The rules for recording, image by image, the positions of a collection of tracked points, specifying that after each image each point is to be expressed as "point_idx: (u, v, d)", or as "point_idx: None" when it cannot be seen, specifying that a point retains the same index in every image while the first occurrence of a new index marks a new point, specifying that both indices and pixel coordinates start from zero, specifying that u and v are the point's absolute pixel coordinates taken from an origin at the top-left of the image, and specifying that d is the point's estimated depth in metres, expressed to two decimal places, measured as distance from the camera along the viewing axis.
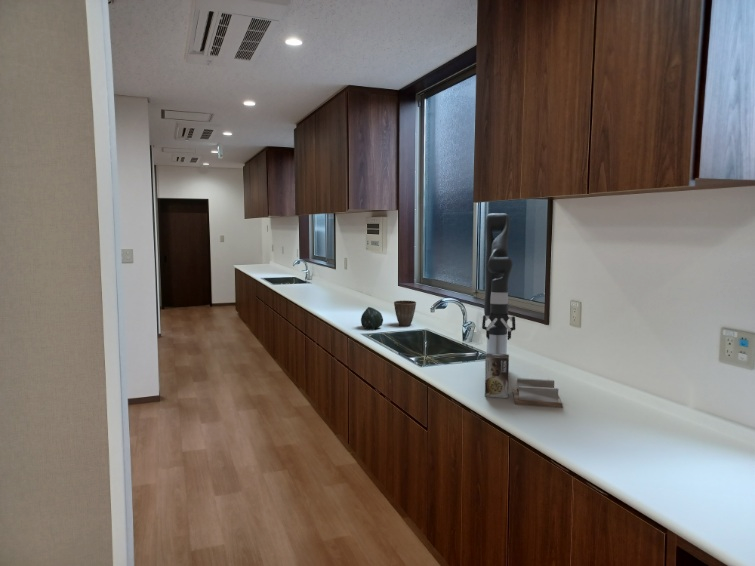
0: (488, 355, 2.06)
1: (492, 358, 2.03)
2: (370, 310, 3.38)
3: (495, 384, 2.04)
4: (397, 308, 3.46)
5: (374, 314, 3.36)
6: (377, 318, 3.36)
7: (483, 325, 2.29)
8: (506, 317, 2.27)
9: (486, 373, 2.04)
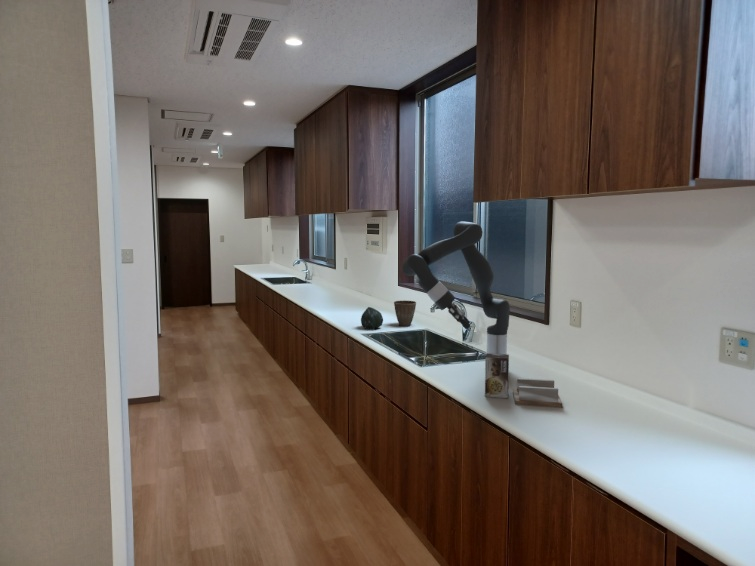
0: (488, 355, 2.06)
1: (492, 358, 2.03)
2: (370, 310, 3.38)
3: (495, 384, 2.04)
4: (397, 308, 3.46)
5: (374, 314, 3.36)
6: (377, 318, 3.36)
7: None
8: None
9: (486, 373, 2.04)
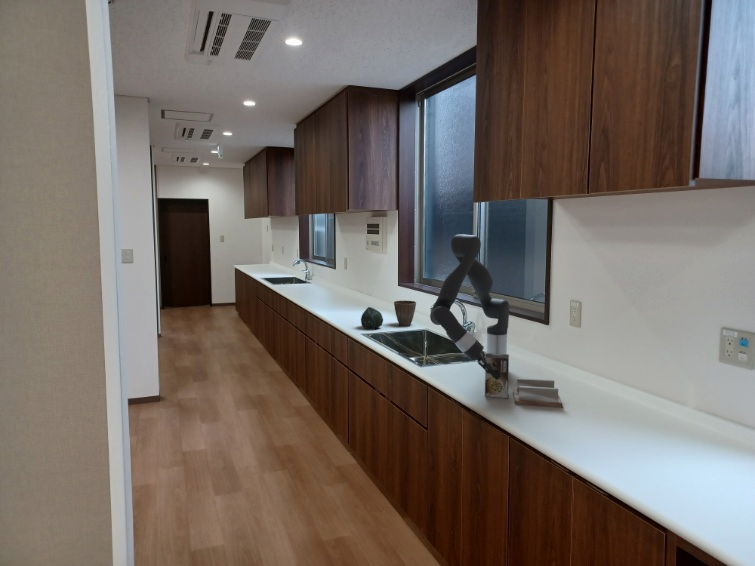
0: (488, 355, 2.06)
1: (492, 358, 2.03)
2: (370, 310, 3.38)
3: (495, 384, 2.04)
4: (397, 308, 3.46)
5: (374, 314, 3.36)
6: (377, 318, 3.36)
7: None
8: (478, 360, 2.04)
9: (486, 373, 2.04)
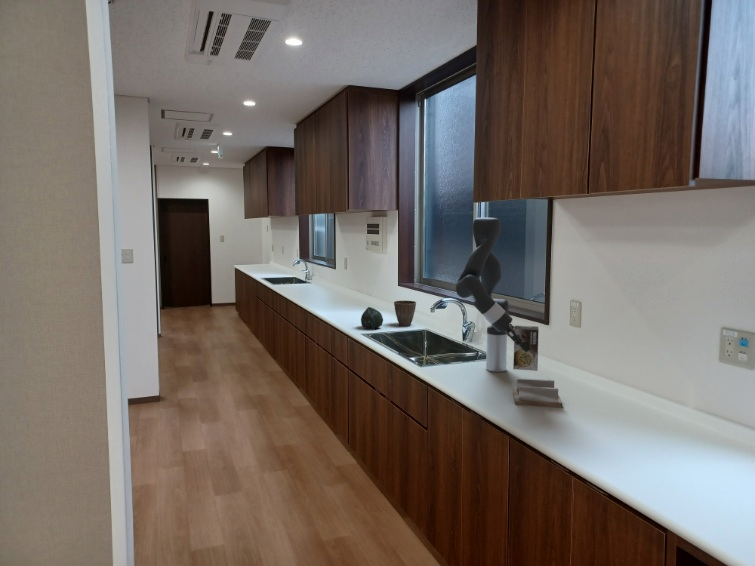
0: (517, 327, 2.00)
1: (521, 330, 1.97)
2: (370, 310, 3.38)
3: (524, 356, 1.98)
4: (397, 308, 3.46)
5: (374, 314, 3.36)
6: (377, 318, 3.36)
7: None
8: (507, 332, 1.98)
9: (515, 345, 1.99)
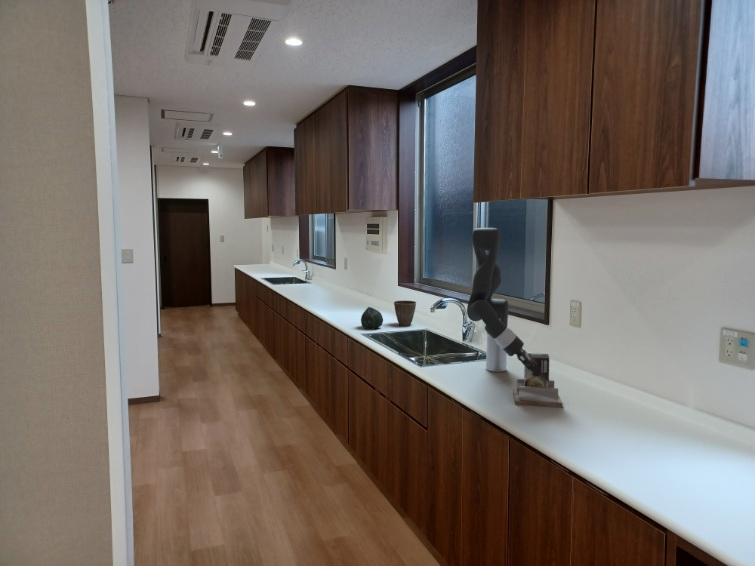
0: None
1: (532, 358, 1.97)
2: (370, 310, 3.38)
3: (535, 384, 1.98)
4: (397, 308, 3.46)
5: (374, 314, 3.36)
6: (377, 318, 3.36)
7: None
8: (518, 357, 1.98)
9: (526, 373, 1.99)
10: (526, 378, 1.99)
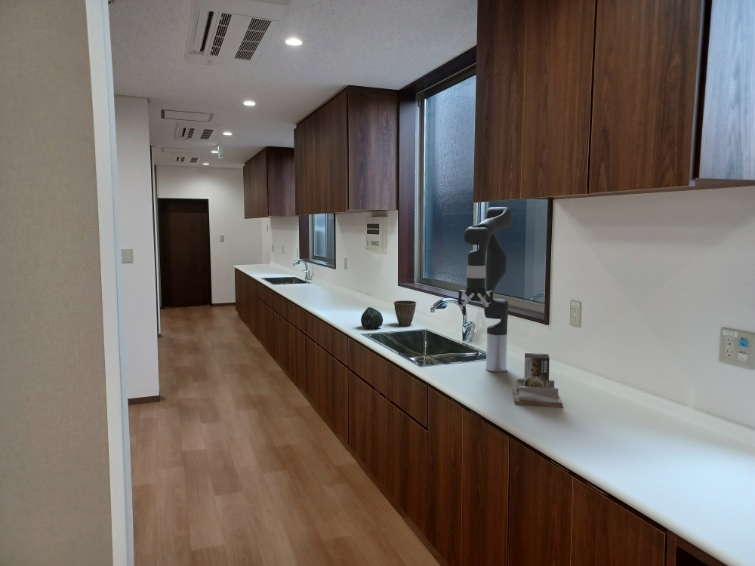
0: (527, 355, 2.00)
1: (532, 358, 1.97)
2: (370, 310, 3.38)
3: (535, 385, 1.98)
4: (397, 308, 3.46)
5: (374, 314, 3.36)
6: (377, 318, 3.36)
7: (459, 300, 2.15)
8: (483, 292, 2.13)
9: (526, 373, 1.99)
10: (526, 378, 1.99)
